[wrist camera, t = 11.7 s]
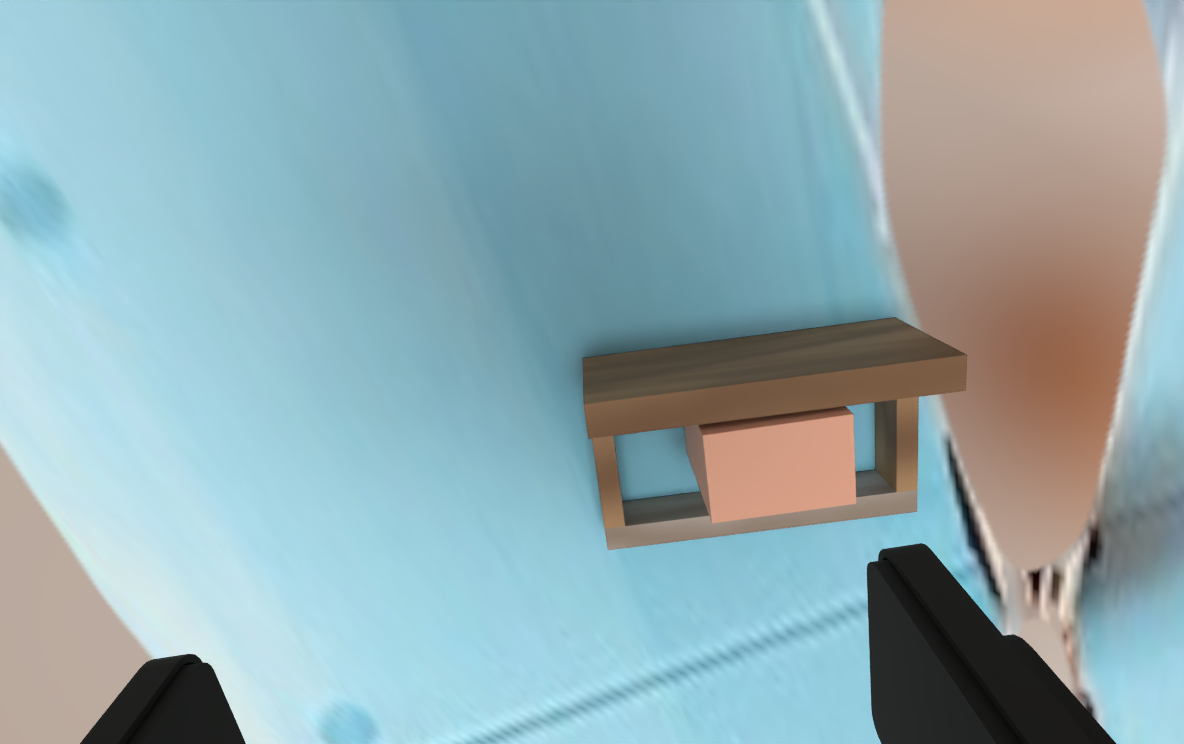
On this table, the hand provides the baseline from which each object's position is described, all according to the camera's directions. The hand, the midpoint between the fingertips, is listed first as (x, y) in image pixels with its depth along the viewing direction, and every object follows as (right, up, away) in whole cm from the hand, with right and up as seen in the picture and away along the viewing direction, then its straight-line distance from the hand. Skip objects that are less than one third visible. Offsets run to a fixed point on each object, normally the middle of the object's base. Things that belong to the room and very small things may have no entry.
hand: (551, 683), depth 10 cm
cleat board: (+8, +2, +25) cm, 27 cm away
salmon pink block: (+8, +3, +25) cm, 26 cm away
